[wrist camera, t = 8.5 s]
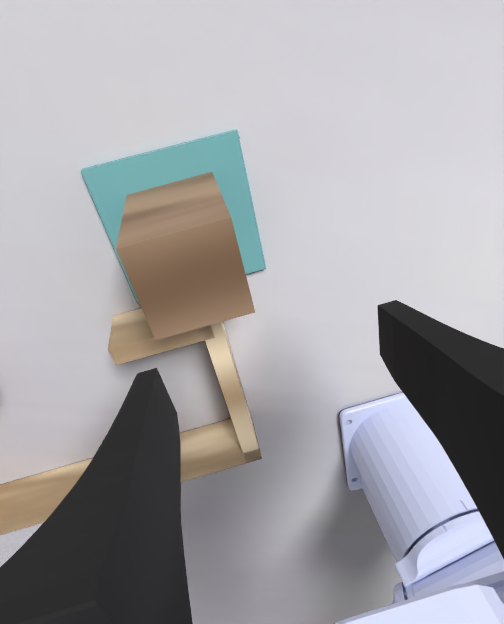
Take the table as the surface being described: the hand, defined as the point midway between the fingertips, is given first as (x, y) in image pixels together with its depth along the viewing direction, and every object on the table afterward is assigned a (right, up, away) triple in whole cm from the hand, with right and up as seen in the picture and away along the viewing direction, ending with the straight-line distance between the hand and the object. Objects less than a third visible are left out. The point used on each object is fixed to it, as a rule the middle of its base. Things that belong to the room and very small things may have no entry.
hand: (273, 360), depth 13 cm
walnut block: (-4, +6, +7) cm, 10 cm away
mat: (-4, +6, +7) cm, 10 cm away
